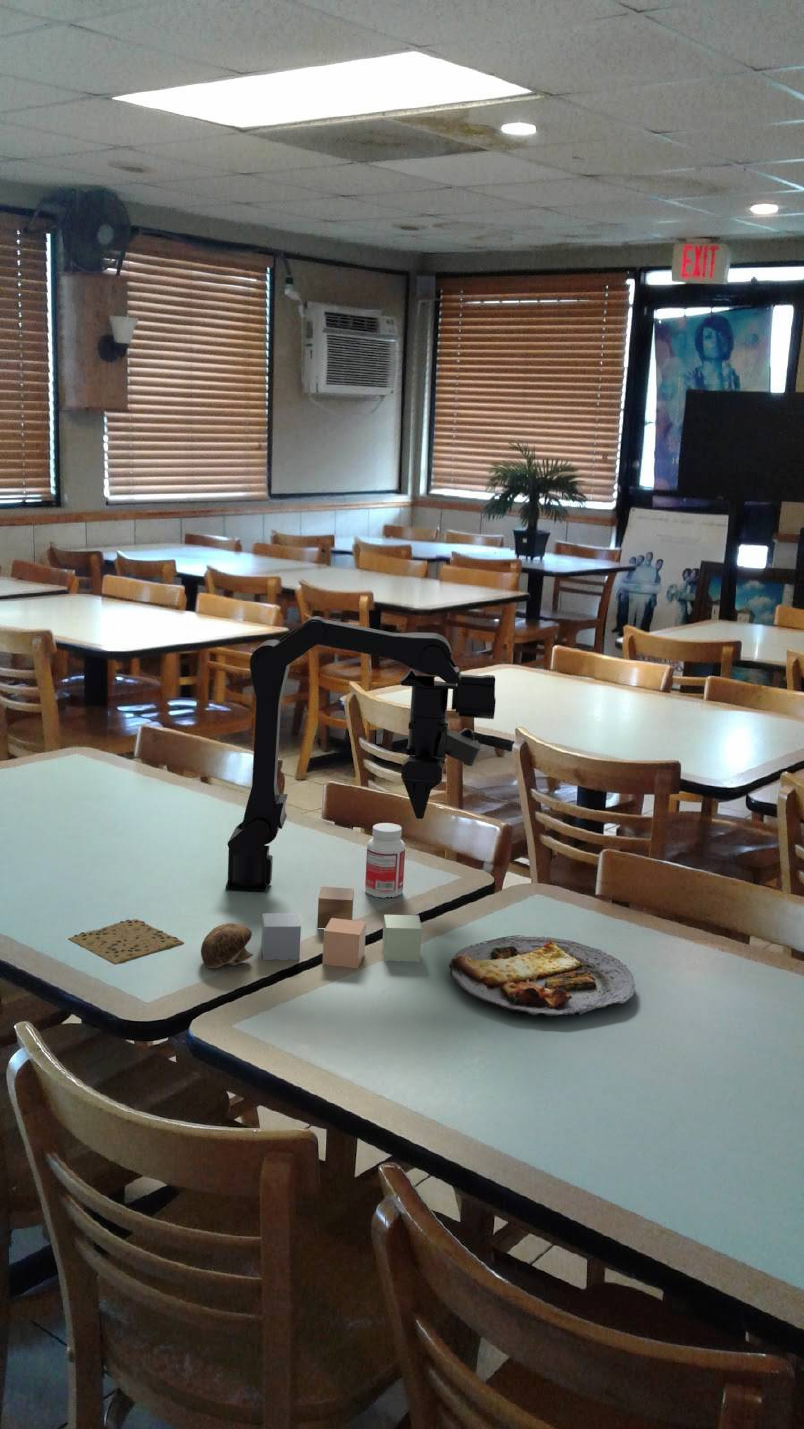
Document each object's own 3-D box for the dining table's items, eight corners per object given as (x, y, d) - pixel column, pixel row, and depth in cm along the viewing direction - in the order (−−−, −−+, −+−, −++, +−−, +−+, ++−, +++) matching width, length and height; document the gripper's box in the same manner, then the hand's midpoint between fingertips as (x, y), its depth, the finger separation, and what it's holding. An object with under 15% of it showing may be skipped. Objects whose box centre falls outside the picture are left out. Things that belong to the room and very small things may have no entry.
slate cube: (263, 960, 175) (264, 926, 174) (261, 946, 180) (262, 913, 179) (299, 960, 176) (301, 926, 175) (296, 946, 181) (297, 913, 180)
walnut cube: (317, 930, 187) (318, 898, 186) (319, 917, 192) (320, 886, 191) (350, 932, 187) (352, 900, 186) (352, 919, 192) (353, 888, 191)
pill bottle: (386, 883, 208) (390, 819, 206) (410, 894, 204) (414, 829, 202) (356, 890, 204) (360, 824, 202) (380, 901, 200) (384, 834, 198)
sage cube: (384, 961, 177) (386, 927, 176) (382, 947, 182) (384, 914, 181) (419, 962, 178) (422, 928, 176) (416, 948, 182) (418, 915, 181)
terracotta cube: (322, 964, 175) (324, 930, 174) (329, 951, 180) (331, 917, 178) (357, 968, 174) (359, 934, 173) (364, 954, 179) (366, 921, 178)
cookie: (64, 941, 178) (64, 935, 178) (136, 921, 187) (136, 915, 187) (114, 968, 170) (114, 961, 170) (186, 946, 179) (186, 939, 179)
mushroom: (275, 940, 174) (248, 906, 172) (246, 979, 168) (218, 944, 166) (238, 951, 178) (211, 918, 177) (208, 990, 173) (181, 956, 171)
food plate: (507, 1038, 156) (509, 1012, 155) (418, 966, 176) (419, 943, 176) (666, 1007, 168) (669, 982, 167) (565, 943, 188) (567, 921, 187)
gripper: (478, 731, 188) (470, 831, 191) (480, 707, 206) (473, 799, 209) (404, 725, 189) (397, 825, 192) (412, 701, 207) (406, 793, 210)
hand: (421, 810), depth 201 cm, fingers open, 9 cm apart
